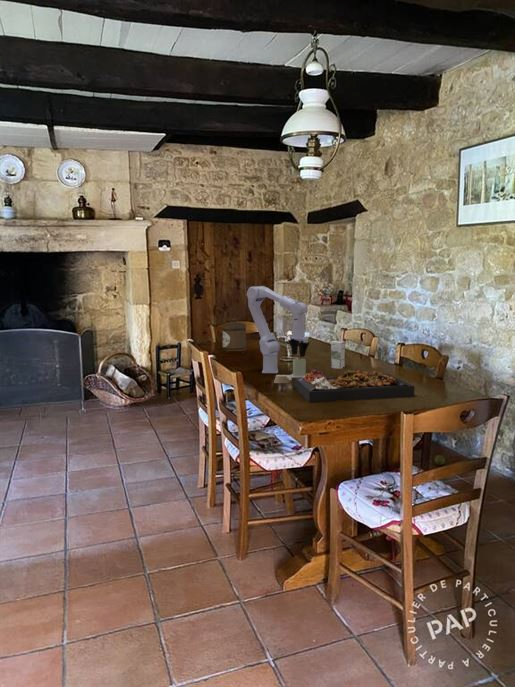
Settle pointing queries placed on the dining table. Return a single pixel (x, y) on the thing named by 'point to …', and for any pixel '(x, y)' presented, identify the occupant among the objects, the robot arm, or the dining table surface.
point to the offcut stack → (281, 379)
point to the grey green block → (299, 367)
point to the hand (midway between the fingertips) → (298, 355)
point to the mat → (296, 376)
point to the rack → (285, 375)
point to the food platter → (351, 386)
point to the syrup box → (337, 354)
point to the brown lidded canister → (234, 336)
